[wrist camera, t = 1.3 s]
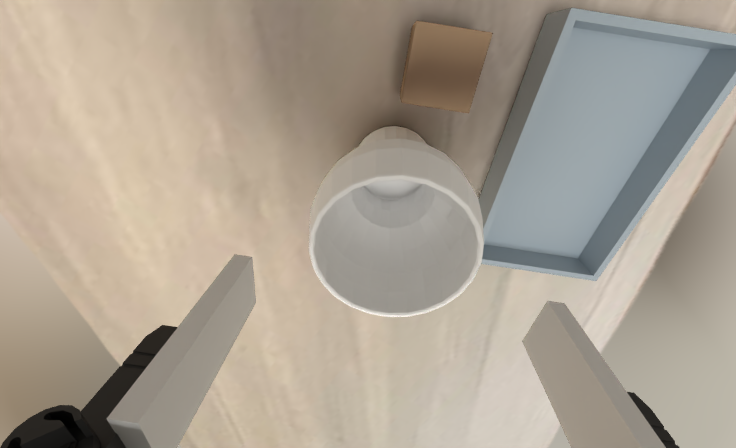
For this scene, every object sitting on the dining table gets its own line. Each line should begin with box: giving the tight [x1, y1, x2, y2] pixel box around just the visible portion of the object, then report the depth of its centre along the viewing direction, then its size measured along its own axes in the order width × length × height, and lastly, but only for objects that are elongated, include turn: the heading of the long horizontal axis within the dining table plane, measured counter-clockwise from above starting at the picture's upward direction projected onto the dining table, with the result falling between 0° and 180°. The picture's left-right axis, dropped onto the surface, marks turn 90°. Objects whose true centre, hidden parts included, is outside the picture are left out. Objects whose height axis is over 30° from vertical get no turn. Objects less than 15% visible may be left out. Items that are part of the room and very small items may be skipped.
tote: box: [479, 8, 736, 281], centre depth 26 cm, size 21×13×4 cm, turn 172°
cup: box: [309, 126, 484, 317], centre depth 22 cm, size 11×11×15 cm
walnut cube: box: [400, 21, 493, 113], centre depth 22 cm, size 5×5×5 cm
